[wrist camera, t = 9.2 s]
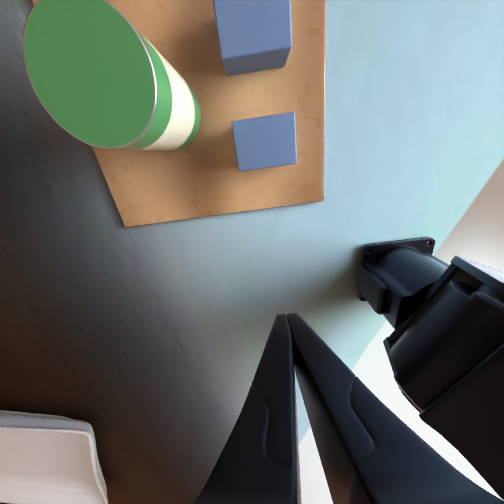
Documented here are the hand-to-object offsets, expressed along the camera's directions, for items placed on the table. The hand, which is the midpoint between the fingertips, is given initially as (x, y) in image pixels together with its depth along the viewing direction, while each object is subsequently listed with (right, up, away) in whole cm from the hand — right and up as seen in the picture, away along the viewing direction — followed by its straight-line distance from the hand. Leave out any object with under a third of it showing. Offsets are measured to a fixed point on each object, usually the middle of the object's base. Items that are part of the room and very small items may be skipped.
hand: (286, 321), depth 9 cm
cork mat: (-5, +14, +7) cm, 16 cm away
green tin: (-5, +13, +6) cm, 15 cm away
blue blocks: (-1, +14, +6) cm, 15 cm away
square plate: (-40, -30, +28) cm, 57 cm away
